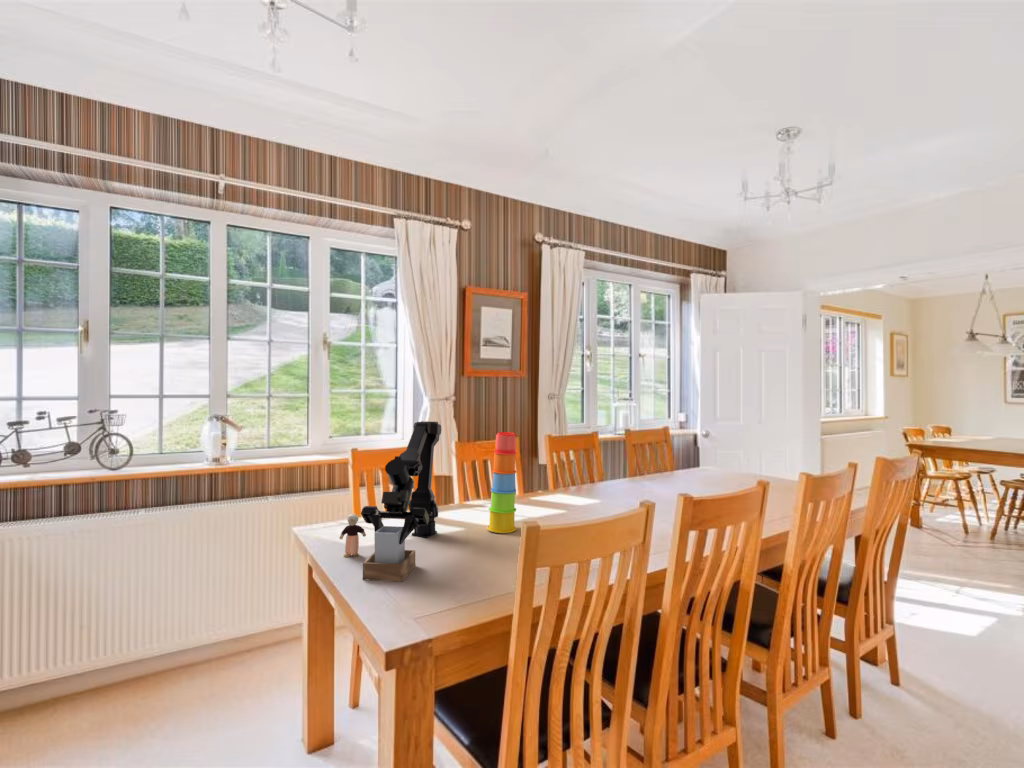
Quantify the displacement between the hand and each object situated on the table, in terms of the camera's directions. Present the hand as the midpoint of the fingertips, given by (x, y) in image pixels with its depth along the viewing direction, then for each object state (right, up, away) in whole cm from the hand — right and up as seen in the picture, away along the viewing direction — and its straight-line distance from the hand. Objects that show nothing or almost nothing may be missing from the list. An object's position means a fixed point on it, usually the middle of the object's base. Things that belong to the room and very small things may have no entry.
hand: (388, 543), depth 141 cm
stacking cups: (+31, -8, +40) cm, 51 cm away
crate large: (0, -9, +2) cm, 9 cm away
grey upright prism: (0, -7, +1) cm, 7 cm away
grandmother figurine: (-14, -9, +15) cm, 23 cm away
